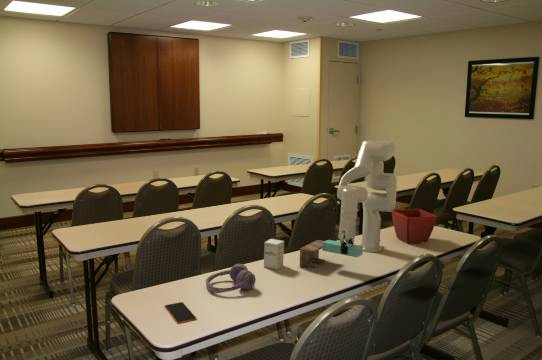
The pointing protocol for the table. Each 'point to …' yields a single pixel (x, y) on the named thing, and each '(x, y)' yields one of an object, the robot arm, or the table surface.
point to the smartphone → (180, 312)
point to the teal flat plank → (336, 248)
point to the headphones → (234, 279)
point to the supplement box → (273, 253)
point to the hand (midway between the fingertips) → (347, 251)
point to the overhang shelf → (311, 254)
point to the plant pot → (413, 225)
